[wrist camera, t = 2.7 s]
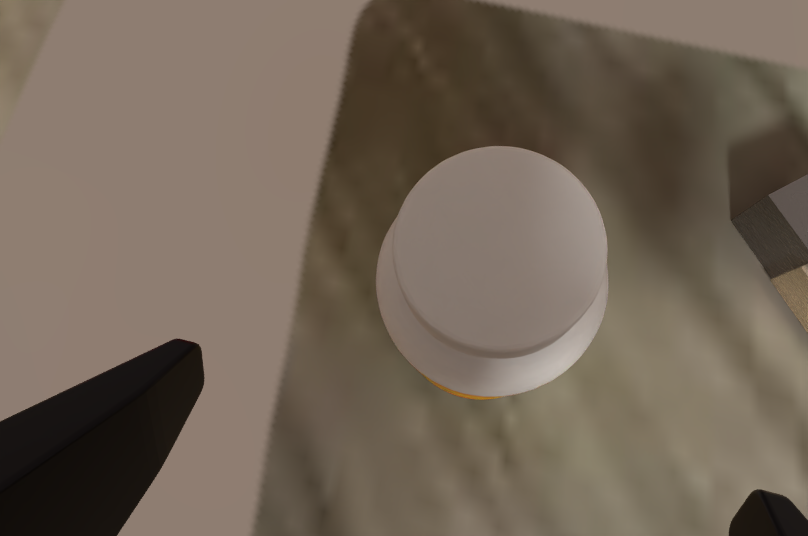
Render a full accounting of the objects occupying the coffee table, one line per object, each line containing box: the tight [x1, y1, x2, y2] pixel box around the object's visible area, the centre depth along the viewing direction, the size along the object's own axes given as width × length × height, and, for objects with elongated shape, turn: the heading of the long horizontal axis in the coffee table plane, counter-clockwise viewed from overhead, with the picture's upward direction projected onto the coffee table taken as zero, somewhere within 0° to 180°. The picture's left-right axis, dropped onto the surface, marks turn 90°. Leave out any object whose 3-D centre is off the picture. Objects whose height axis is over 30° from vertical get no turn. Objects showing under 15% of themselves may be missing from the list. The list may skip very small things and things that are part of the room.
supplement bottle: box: [376, 146, 609, 399], centre depth 16 cm, size 5×5×10 cm
